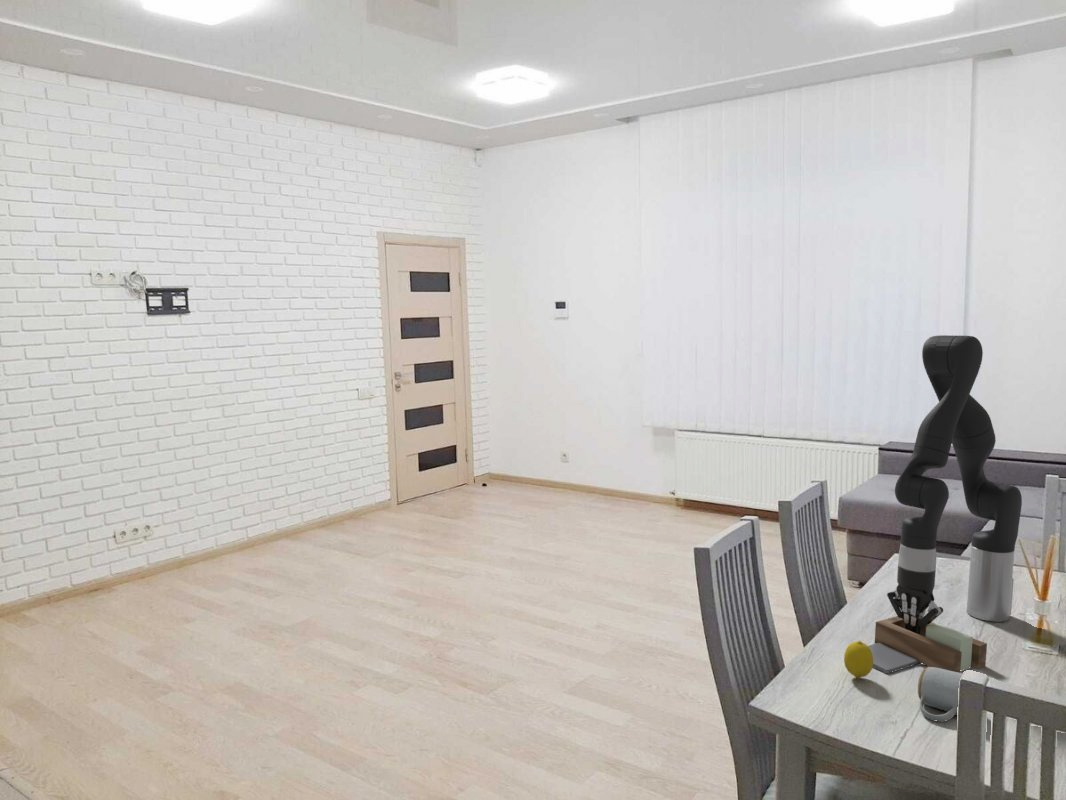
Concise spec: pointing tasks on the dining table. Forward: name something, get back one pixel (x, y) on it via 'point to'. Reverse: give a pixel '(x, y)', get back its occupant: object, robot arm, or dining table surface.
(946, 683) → the ceramic mug
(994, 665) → the dining table surface
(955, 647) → the sage block
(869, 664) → the lemon
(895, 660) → the slate coaster
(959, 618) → the dining table surface
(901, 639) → the rail
